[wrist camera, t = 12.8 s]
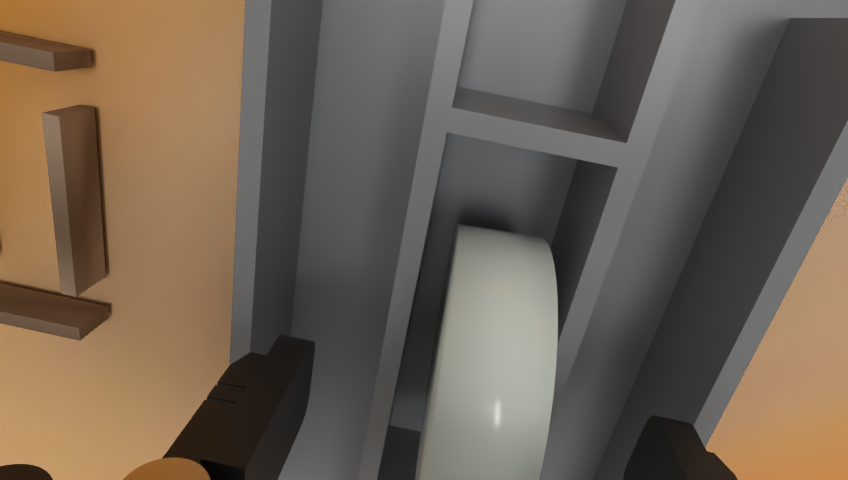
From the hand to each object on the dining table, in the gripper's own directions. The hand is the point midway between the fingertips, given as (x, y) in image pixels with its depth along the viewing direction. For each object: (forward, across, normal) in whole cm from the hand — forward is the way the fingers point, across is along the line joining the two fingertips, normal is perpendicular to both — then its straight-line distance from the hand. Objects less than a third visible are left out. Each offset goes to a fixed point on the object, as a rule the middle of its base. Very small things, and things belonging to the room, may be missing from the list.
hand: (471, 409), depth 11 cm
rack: (+6, 0, 0) cm, 6 cm away
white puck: (+1, 0, 0) cm, 1 cm away
